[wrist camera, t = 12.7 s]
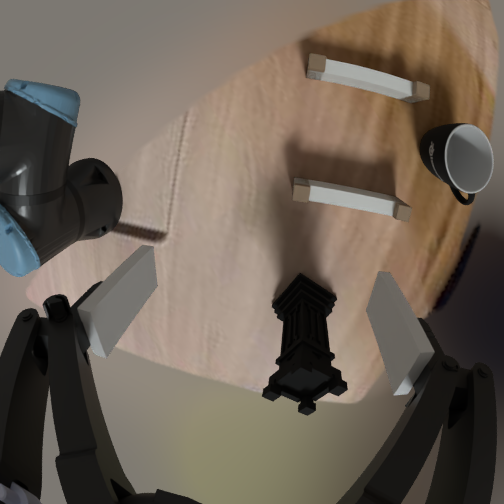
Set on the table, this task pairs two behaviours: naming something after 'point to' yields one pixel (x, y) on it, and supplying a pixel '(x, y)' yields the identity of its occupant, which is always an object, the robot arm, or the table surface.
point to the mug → (458, 158)
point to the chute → (376, 83)
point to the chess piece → (304, 347)
